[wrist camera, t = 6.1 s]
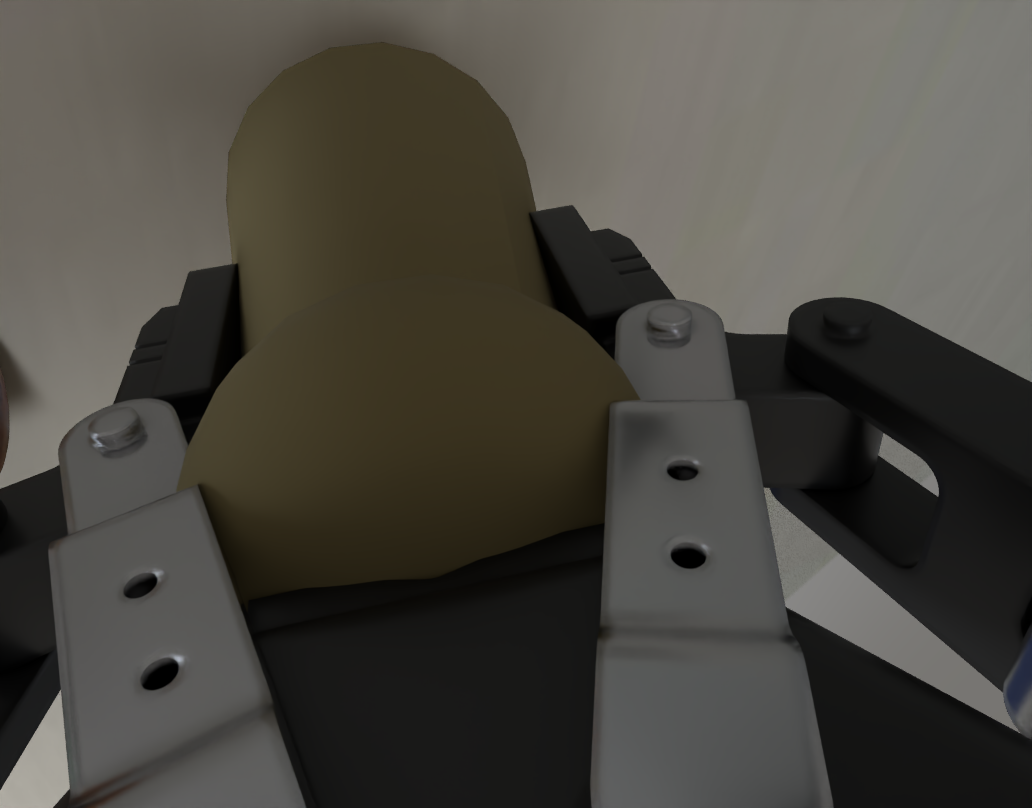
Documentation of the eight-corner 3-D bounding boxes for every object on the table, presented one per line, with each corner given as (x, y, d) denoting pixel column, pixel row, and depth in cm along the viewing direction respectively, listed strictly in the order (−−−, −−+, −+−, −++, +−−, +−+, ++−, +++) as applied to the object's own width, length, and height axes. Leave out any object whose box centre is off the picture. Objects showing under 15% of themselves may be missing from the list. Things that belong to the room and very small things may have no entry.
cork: (354, 377, 18) (381, 878, 9) (153, 163, 15) (-99, 646, 6) (577, 235, 17) (839, 646, 8) (420, -30, 14) (592, 203, 5)
